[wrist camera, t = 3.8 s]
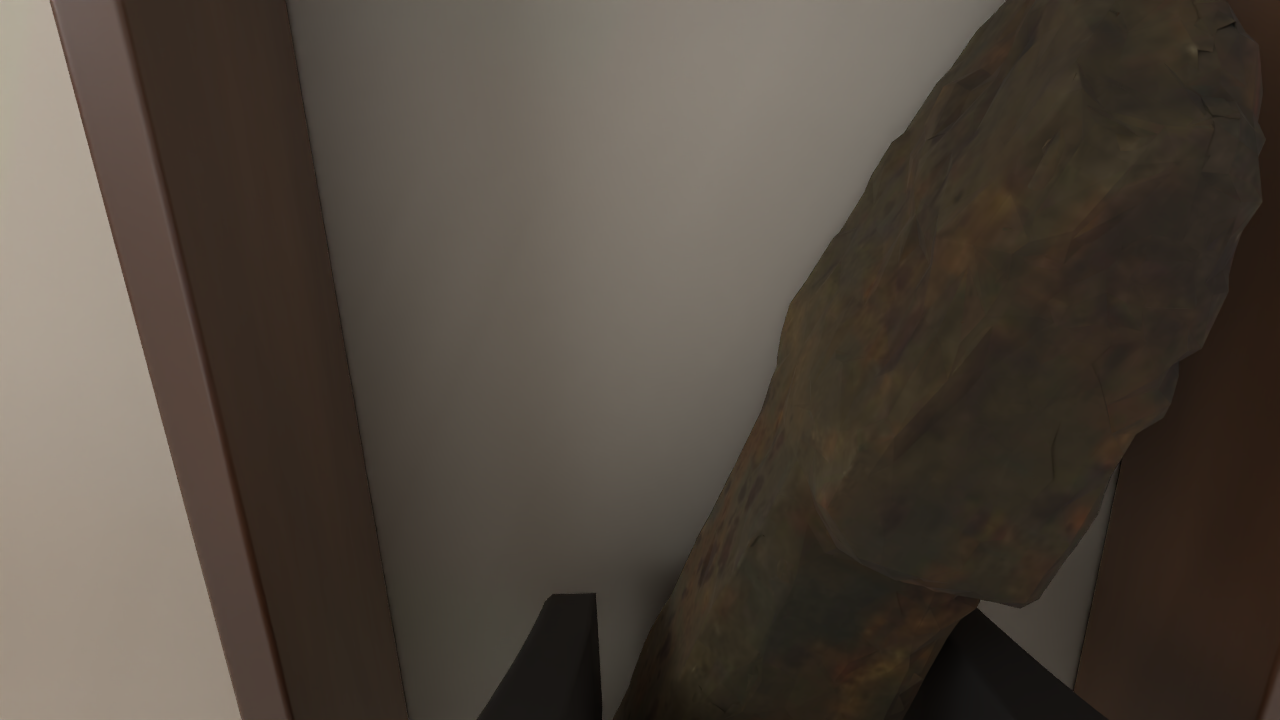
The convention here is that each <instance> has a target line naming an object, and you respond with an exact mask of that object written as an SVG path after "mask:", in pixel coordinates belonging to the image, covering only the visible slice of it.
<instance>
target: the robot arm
mask: <svg viewBox="0 0 1280 720" xmlns="http://www.w3.org/2000/svg"><path fill="white" fill-rule="evenodd" d="M476 720H602V691H601V674H600V656H599V639H598V622H597V604H596V593H579V594H552V595H551V596H550V597H549V598H548V599H547V600H546V601H545V602H544V605H543V607H542V609H541V611H540V614H539V616H538V618H537V620H536V622H535V624H534V626H533V628H532V630H531V632H530V634H529V635H528V637H527V639H526V641H525V643H524V645H523V646H522V648H521V650H520V652H519V653H518V655H517V657H516V659H515V660H514V662H513V664H512V665H511V667H510V669H509V670H508V672H507V673H506V675H505V677H504V678H503V680H502V681H501V683H500V685H499V686H498V688H497V689H496V691H495V693H494V694H493V696H492V697H491V699H490V701H489V702H488V704H487V705H486V707H485V708H484V710H483V711H482V712H481V714H480V715H479V717H478V718H477V719H476ZM903 720H1109V719H1107V718H1106V717H1105V716H1103V715H1102V714H1101V713H1099V712H1098V711H1097V710H1096V709H1094V708H1093V707H1092V706H1091V705H1089V704H1088V703H1087V702H1086V701H1084V700H1083V699H1082V698H1081V697H1079V696H1078V695H1077V694H1076V693H1074V692H1073V691H1072V690H1071V689H1070V688H1068V687H1067V686H1066V685H1065V684H1064V683H1062V682H1061V681H1060V680H1059V679H1058V678H1056V677H1055V676H1054V675H1053V674H1052V673H1050V672H1049V671H1048V670H1047V669H1046V668H1045V667H1043V666H1042V665H1041V664H1040V663H1039V662H1037V661H1036V660H1035V659H1034V658H1033V657H1032V656H1031V655H1029V654H1028V653H1027V652H1026V651H1025V650H1024V649H1022V648H1021V647H1020V646H1019V645H1018V644H1017V643H1016V642H1015V641H1013V640H1012V639H1011V638H1010V637H1009V636H1008V635H1007V634H1006V633H1004V632H1003V631H1002V630H1001V629H1000V628H999V627H998V626H996V625H995V624H994V623H993V622H992V621H991V620H990V619H989V618H988V617H986V616H985V615H984V614H983V613H982V612H981V611H980V610H979V609H978V608H976V609H975V610H973V611H972V612H971V613H969V614H968V615H966V616H965V617H963V618H962V619H961V620H960V621H959V622H958V623H957V625H956V626H955V628H954V629H953V630H952V632H951V633H950V635H949V636H948V638H947V639H946V641H945V643H944V645H943V646H942V648H941V650H940V652H939V653H938V655H937V657H936V659H935V661H934V662H933V664H932V666H931V668H930V669H929V671H928V673H927V675H926V676H925V678H924V680H923V682H922V684H921V686H920V688H919V690H918V692H917V694H916V696H915V698H914V700H913V701H912V703H911V705H910V707H909V709H908V711H907V712H906V714H905V716H904V718H903Z"/></svg>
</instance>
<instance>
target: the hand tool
mask: <svg viewBox="0 0 1280 720" xmlns="http://www.w3.org/2000/svg"><path fill="white" fill-rule="evenodd" d="M1262 96H1263V86H1262V74H1261V63H1260V52H1259V44H1258V43H1256V42H1255V41H1254V40H1253V39H1252V38H1251V37H1250V36H1249V35H1248V34H1247V33H1246V32H1245V30H1244V28H1243V27H1242V25H1241V23H1240V22H1239V20H1238V18H1237V17H1236V15H1235V13H1234V12H1233V10H1232V8H1231V7H1230V5H1229V3H1228V2H1227V1H1226V0H1006V2H1005V3H1004V4H1003V5H1002V6H1001V7H1000V8H999V10H998V11H997V12H996V13H995V14H994V15H993V16H992V17H991V18H990V19H989V20H988V21H987V22H986V23H985V24H984V25H983V26H982V27H981V28H979V29H978V30H977V32H976V33H975V34H974V36H973V37H972V39H971V40H970V42H969V43H968V45H967V46H966V48H965V49H964V50H963V52H962V53H961V55H960V56H959V58H958V59H957V61H956V62H955V64H954V65H953V66H952V68H951V69H950V70H949V71H948V72H947V73H946V74H945V76H944V77H943V78H942V79H941V80H940V81H939V82H938V83H937V84H936V86H935V87H934V89H933V90H932V92H931V93H930V95H929V96H928V98H927V99H926V101H925V102H924V104H923V105H922V107H921V108H920V110H919V111H918V113H917V114H916V116H915V117H914V119H913V121H912V122H911V124H910V125H909V127H908V128H907V130H906V131H905V133H904V134H902V135H901V136H900V137H898V138H897V139H896V140H895V141H893V142H892V143H891V145H890V147H889V148H888V150H887V151H886V153H885V155H884V156H883V158H882V160H881V161H880V163H879V164H878V166H877V168H876V169H875V171H874V172H873V174H872V176H871V178H870V181H869V183H868V185H867V187H866V190H865V192H864V194H863V196H862V197H861V199H860V200H859V202H858V204H857V205H856V207H855V208H854V210H853V212H852V213H851V215H850V217H849V218H848V220H847V221H846V223H845V225H844V226H843V228H842V230H841V231H840V233H839V234H837V235H836V236H835V237H834V238H833V240H832V241H831V243H830V244H829V246H828V247H827V249H826V251H825V252H824V254H823V255H822V257H821V259H820V260H819V262H818V263H817V265H816V266H815V268H814V270H813V271H812V273H811V274H810V276H809V278H808V279H807V281H806V282H805V283H804V285H803V286H802V288H801V289H800V291H799V292H798V293H797V295H796V296H795V298H794V299H793V300H792V302H791V303H790V306H789V309H788V312H787V316H786V319H785V323H784V326H783V329H782V333H781V339H780V344H779V350H778V356H777V367H776V370H775V372H774V374H773V377H772V379H771V383H770V386H769V389H768V392H767V395H766V398H765V401H764V404H763V407H762V410H761V413H760V415H759V417H758V419H757V421H756V423H755V425H754V427H753V429H752V431H751V433H750V435H749V437H748V439H747V442H746V444H745V446H744V448H743V450H742V452H741V454H740V456H739V458H738V460H737V462H736V464H735V466H734V468H733V470H732V472H731V474H730V476H729V478H728V480H727V482H726V484H725V486H724V488H723V490H722V492H721V494H720V496H719V498H718V500H717V502H716V504H715V506H714V508H713V510H712V512H711V514H710V516H709V518H708V519H707V521H706V523H705V525H704V527H703V529H702V530H701V532H700V534H699V536H698V538H697V540H696V542H695V545H694V547H693V549H692V551H691V553H690V555H689V557H688V559H687V562H686V564H685V566H684V568H683V570H682V572H681V574H680V577H679V579H678V581H677V583H676V585H675V587H674V590H673V592H672V594H671V596H670V598H669V600H668V601H667V602H666V604H665V605H664V606H663V608H662V610H661V612H660V614H659V615H658V617H657V619H656V621H655V623H654V624H653V626H652V628H651V630H650V632H649V634H648V637H647V639H646V641H645V643H644V645H643V648H642V651H641V653H640V656H639V659H638V662H637V664H636V667H635V670H634V673H633V676H632V679H631V682H630V686H629V688H628V690H627V692H626V694H625V696H624V698H623V700H622V702H621V704H620V706H619V708H618V710H617V712H616V714H615V716H614V718H613V720H903V718H904V716H905V714H906V712H907V711H908V709H909V707H910V705H911V703H912V701H913V700H914V698H915V696H916V694H917V692H918V690H919V688H920V686H921V684H922V682H923V680H924V678H925V676H926V675H927V673H928V671H929V669H930V668H931V666H932V664H933V662H934V661H935V659H936V657H937V655H938V653H939V652H940V650H941V648H942V646H943V645H944V643H945V641H946V639H947V638H948V636H949V635H950V633H951V632H952V630H953V629H954V628H955V626H956V625H957V623H958V622H959V621H960V620H961V619H962V618H963V617H965V616H966V615H968V614H969V613H971V612H972V611H973V610H975V609H976V608H977V606H978V604H979V602H980V599H981V600H986V601H991V602H996V603H1000V604H1004V605H1008V606H1013V607H1017V608H1022V607H1024V606H1026V605H1028V604H1030V603H1032V602H1034V601H1036V600H1038V599H1039V598H1040V596H1041V595H1042V594H1043V592H1044V591H1045V589H1046V588H1047V586H1048V585H1049V583H1050V582H1051V580H1052V579H1053V577H1054V576H1055V574H1056V573H1057V572H1058V570H1059V569H1060V567H1061V566H1062V564H1063V563H1064V561H1065V560H1066V559H1067V557H1068V556H1069V555H1070V554H1071V552H1072V551H1073V550H1074V548H1075V547H1076V546H1077V544H1078V543H1079V541H1080V540H1081V539H1082V537H1083V536H1084V534H1085V533H1086V531H1087V530H1088V528H1089V527H1090V525H1091V524H1092V522H1093V521H1094V519H1095V518H1096V516H1097V515H1098V512H1099V509H1100V505H1101V502H1102V499H1103V496H1104V493H1105V490H1106V488H1107V485H1108V483H1109V480H1110V477H1111V475H1112V473H1113V471H1114V470H1115V468H1116V466H1117V465H1118V463H1119V462H1120V460H1121V458H1122V457H1123V455H1124V454H1125V452H1126V450H1127V449H1128V447H1129V445H1130V444H1131V442H1132V440H1133V439H1134V437H1135V435H1136V434H1137V433H1139V432H1140V431H1142V430H1144V429H1145V428H1147V427H1149V426H1150V425H1152V424H1154V423H1155V422H1157V421H1159V420H1161V419H1162V418H1163V417H1164V416H1165V414H1166V412H1167V410H1168V408H1169V406H1170V405H1171V402H1172V398H1173V395H1174V391H1175V388H1176V384H1177V381H1178V378H1179V361H1181V360H1182V359H1184V358H1186V357H1188V356H1190V355H1191V354H1193V353H1195V352H1197V351H1199V350H1201V349H1202V347H1203V345H1204V343H1205V341H1206V338H1207V336H1208V334H1209V332H1210V330H1211V328H1212V326H1213V324H1214V322H1215V319H1216V317H1217V315H1218V313H1219V311H1220V309H1221V307H1222V305H1223V303H1224V300H1225V298H1226V296H1227V294H1228V292H1229V273H1230V269H1231V265H1232V261H1233V257H1234V253H1235V250H1236V247H1237V245H1238V242H1239V239H1240V236H1241V233H1242V231H1243V230H1244V228H1245V227H1246V225H1247V224H1248V222H1249V221H1250V220H1251V218H1252V217H1253V215H1254V214H1255V212H1256V211H1257V209H1258V208H1259V206H1260V205H1261V203H1262V191H1261V180H1260V169H1259V159H1258V157H1259V154H1260V152H1261V150H1262V147H1263V145H1264V143H1265V141H1266V138H1265V136H1264V134H1263V132H1262V129H1261V127H1260V125H1259V123H1258V119H1259V113H1260V108H1261V102H1262Z"/></svg>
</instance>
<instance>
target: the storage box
mask: <svg viewBox="0 0 1280 720" xmlns="http://www.w3.org/2000/svg"><path fill="white" fill-rule="evenodd" d="M1226 1H1227V2H1228V3H1229V5H1230V7H1231V8H1232V10H1233V12H1234V13H1235V15H1236V17H1237V18H1238V20H1239V22H1240V23H1241V25H1242V27H1243V28H1244V30H1245V32H1246V33H1247V34H1248V35H1249V36H1250V37H1251V38H1252V39H1253V40H1254V41H1255V42H1256V43H1258V44H1259V52H1260V63H1261V74H1262V86H1263V96H1262V102H1261V108H1260V113H1259V119H1258V123H1259V125H1260V127H1261V129H1262V132H1263V134H1264V136H1265V138H1266V141H1265V143H1264V145H1263V147H1262V150H1261V152H1260V154H1259V157H1258V159H1259V169H1260V180H1261V191H1262V203H1261V205H1260V206H1259V208H1258V209H1257V211H1256V212H1255V214H1254V215H1253V217H1252V218H1251V220H1250V221H1249V222H1248V224H1247V225H1246V227H1245V228H1244V230H1243V231H1242V233H1241V236H1240V239H1239V242H1238V245H1237V247H1236V250H1235V253H1234V257H1233V261H1232V265H1231V269H1230V273H1229V292H1228V294H1227V296H1226V298H1225V300H1224V303H1223V305H1222V307H1221V309H1220V311H1219V313H1218V315H1217V317H1216V319H1215V322H1214V324H1213V326H1212V328H1211V330H1210V332H1209V334H1208V336H1207V338H1206V341H1205V343H1204V345H1203V347H1202V349H1201V350H1199V351H1197V352H1195V353H1193V354H1191V355H1190V356H1188V357H1186V358H1184V359H1182V360H1181V361H1179V378H1178V381H1177V384H1176V388H1175V391H1174V395H1173V398H1172V402H1171V405H1170V406H1169V408H1168V410H1167V412H1166V414H1165V416H1164V417H1163V418H1162V419H1161V420H1159V421H1157V422H1155V423H1154V424H1152V425H1150V426H1149V427H1147V428H1145V429H1144V430H1142V431H1140V432H1139V433H1137V434H1136V435H1135V437H1134V439H1133V440H1132V442H1131V444H1130V445H1129V447H1128V449H1127V450H1126V452H1125V454H1124V455H1123V458H1122V463H1121V468H1120V472H1119V477H1118V482H1117V487H1116V491H1115V496H1114V501H1113V506H1112V510H1111V515H1110V520H1109V525H1108V530H1107V534H1106V539H1105V544H1104V549H1103V553H1102V558H1101V563H1100V568H1099V573H1098V577H1097V582H1096V587H1095V592H1094V596H1093V601H1092V606H1091V611H1090V616H1089V620H1088V625H1087V630H1086V635H1085V639H1084V644H1083V649H1082V654H1081V659H1080V663H1079V668H1078V673H1077V678H1076V682H1075V687H1074V693H1076V694H1077V695H1078V696H1079V697H1081V698H1082V699H1083V700H1084V701H1086V702H1087V703H1088V704H1089V705H1091V706H1092V707H1093V708H1094V709H1096V710H1097V711H1098V712H1099V713H1101V714H1102V715H1103V716H1105V717H1106V718H1107V719H1109V720H1280V0H1226ZM50 3H51V7H52V11H53V14H54V18H55V22H56V26H57V29H58V33H59V37H60V41H61V44H62V48H63V52H64V56H65V59H66V63H67V67H68V71H69V74H70V78H71V82H72V86H73V89H74V93H75V97H76V101H77V104H78V108H79V112H80V116H81V119H82V123H83V127H84V130H85V134H86V138H87V142H88V145H89V149H90V153H91V157H92V160H93V164H94V168H95V172H96V175H97V179H98V183H99V187H100V190H101V194H102V198H103V202H104V205H105V209H106V213H107V217H108V220H109V224H110V228H111V232H112V235H113V239H114V243H115V247H116V250H117V254H118V258H119V262H120V265H121V269H122V273H123V277H124V280H125V284H126V288H127V291H128V295H129V299H130V303H131V306H132V310H133V314H134V318H135V321H136V325H137V329H138V333H139V336H140V340H141V344H142V348H143V351H144V355H145V359H146V363H147V366H148V370H149V374H150V378H151V381H152V385H153V389H154V393H155V396H156V400H157V404H158V408H159V411H160V415H161V419H162V423H163V426H164V430H165V434H166V438H167V441H168V445H169V449H170V453H171V456H172V460H173V464H174V467H175V471H176V475H177V479H178V482H179V486H180V490H181V494H182V497H183V501H184V505H185V509H186V512H187V516H188V520H189V524H190V527H191V531H192V535H193V539H194V542H195V546H196V550H197V554H198V557H199V561H200V565H201V569H202V572H203V576H204V580H205V584H206V587H207V591H208V595H209V599H210V602H211V606H212V610H213V614H214V617H215V621H216V625H217V628H218V632H219V636H220V640H221V643H222V647H223V651H224V655H225V658H226V662H227V666H228V670H229V673H230V677H231V681H232V685H233V688H234V692H235V696H236V700H237V703H238V707H239V711H240V715H241V718H242V720H408V715H407V709H406V703H405V697H404V691H403V685H402V680H401V674H400V668H399V662H398V656H397V650H396V645H395V639H394V633H393V627H392V621H391V615H390V609H389V604H388V598H387V592H386V586H385V580H384V574H383V568H382V563H381V557H380V551H379V545H378V539H377V533H376V528H375V522H374V516H373V510H372V504H371V498H370V492H369V487H368V481H367V475H366V469H365V463H364V457H363V452H362V446H361V440H360V434H359V428H358V422H357V416H356V411H355V405H354V399H353V393H352V387H351V381H350V376H349V370H348V364H347V358H346V352H345V346H344V340H343V335H342V329H341V323H340V317H339V311H338V305H337V300H336V294H335V288H334V282H333V276H332V270H331V264H330V259H329V253H328V247H327V241H326V235H325V229H324V223H323V218H322V212H321V206H320V200H319V194H318V188H317V183H316V177H315V171H314V165H313V159H312V153H311V147H310V142H309V136H308V130H307V124H306V118H305V112H304V107H303V101H302V95H301V89H300V83H299V77H298V71H297V66H296V60H295V54H294V48H293V42H292V36H291V31H290V25H289V19H288V13H287V7H286V1H285V0H50Z"/></svg>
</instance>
